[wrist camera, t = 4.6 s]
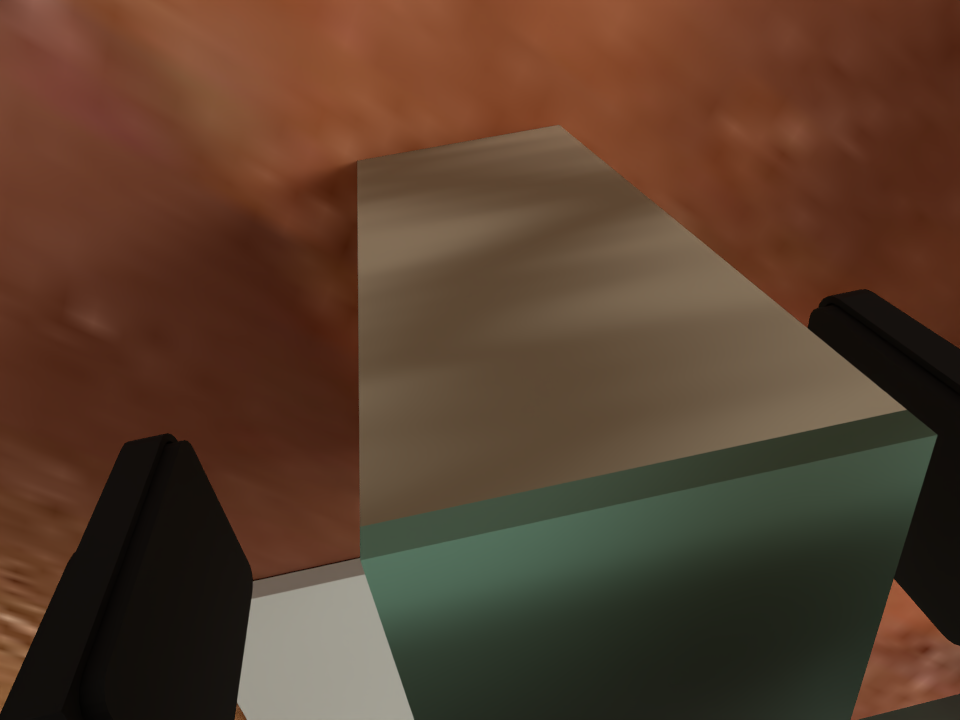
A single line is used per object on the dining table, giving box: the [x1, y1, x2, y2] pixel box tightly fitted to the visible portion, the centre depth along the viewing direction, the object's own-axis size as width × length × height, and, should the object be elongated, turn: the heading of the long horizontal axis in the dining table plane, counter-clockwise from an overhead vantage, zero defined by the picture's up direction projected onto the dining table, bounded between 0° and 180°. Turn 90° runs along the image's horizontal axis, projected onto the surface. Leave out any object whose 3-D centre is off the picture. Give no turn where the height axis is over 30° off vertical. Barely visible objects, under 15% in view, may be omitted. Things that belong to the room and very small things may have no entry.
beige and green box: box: [357, 125, 937, 720], centre depth 10 cm, size 4×7×10 cm, turn 8°
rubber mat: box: [237, 558, 414, 720], centre depth 21 cm, size 16×12×1 cm
